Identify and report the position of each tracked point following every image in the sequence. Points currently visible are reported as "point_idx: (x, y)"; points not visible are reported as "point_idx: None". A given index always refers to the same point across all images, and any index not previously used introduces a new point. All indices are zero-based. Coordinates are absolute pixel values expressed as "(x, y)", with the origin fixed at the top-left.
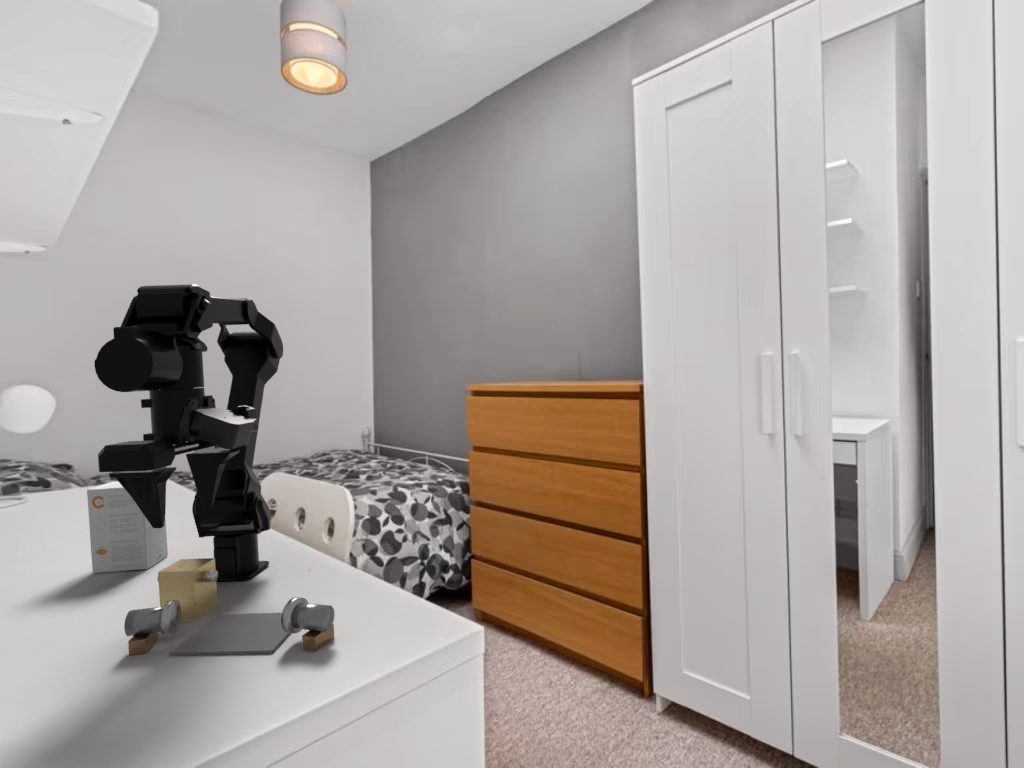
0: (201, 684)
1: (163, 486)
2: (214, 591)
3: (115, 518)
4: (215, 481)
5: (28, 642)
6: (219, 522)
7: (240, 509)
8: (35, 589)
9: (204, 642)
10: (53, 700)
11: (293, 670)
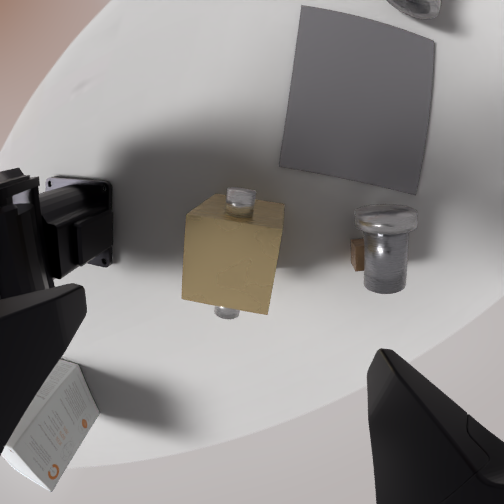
0: (489, 122)
1: (488, 462)
2: (216, 199)
3: (55, 442)
4: (2, 317)
5: (302, 401)
6: (44, 272)
7: (15, 219)
8: (146, 444)
9: (395, 149)
10: (471, 289)
11: (469, 19)
